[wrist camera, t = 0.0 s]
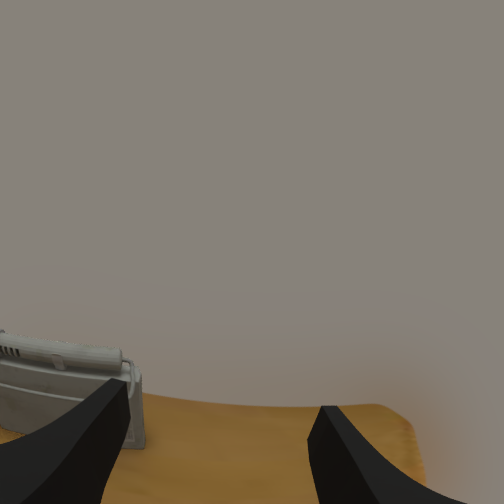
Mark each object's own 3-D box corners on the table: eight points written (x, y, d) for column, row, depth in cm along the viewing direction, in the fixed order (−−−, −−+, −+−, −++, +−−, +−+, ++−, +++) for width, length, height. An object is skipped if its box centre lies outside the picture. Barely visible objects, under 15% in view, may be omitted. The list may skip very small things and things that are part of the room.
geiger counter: (141, 336, 30) (-44, 310, 21) (141, 368, 24) (-69, 331, 15) (144, 427, 32) (-19, 401, 23) (147, 463, 26) (-34, 428, 18)
